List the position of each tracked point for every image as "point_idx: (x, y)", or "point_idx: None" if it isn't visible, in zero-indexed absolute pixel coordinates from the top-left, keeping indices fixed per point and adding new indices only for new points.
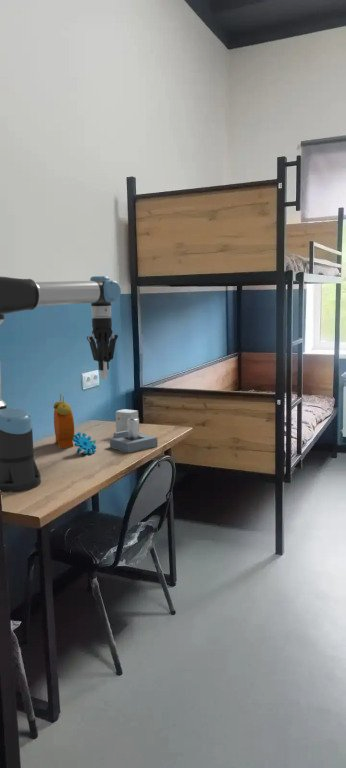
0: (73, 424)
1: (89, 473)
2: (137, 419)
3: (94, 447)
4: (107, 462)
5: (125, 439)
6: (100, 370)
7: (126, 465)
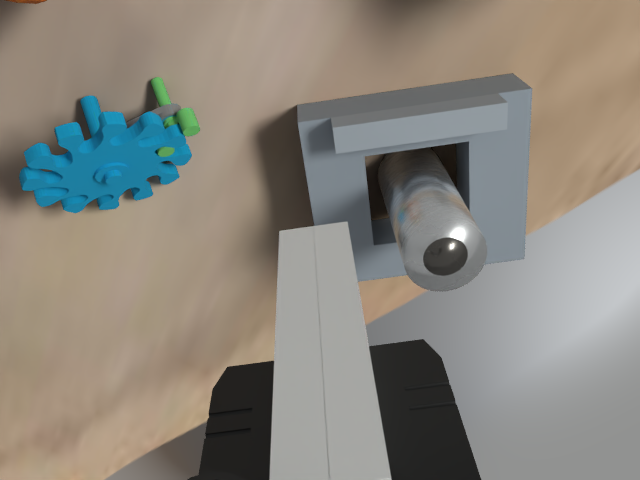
0: (32, 1)
1: (67, 411)
2: (458, 286)
3: (175, 163)
4: (177, 333)
5: (361, 203)
6: (276, 326)
7: None
